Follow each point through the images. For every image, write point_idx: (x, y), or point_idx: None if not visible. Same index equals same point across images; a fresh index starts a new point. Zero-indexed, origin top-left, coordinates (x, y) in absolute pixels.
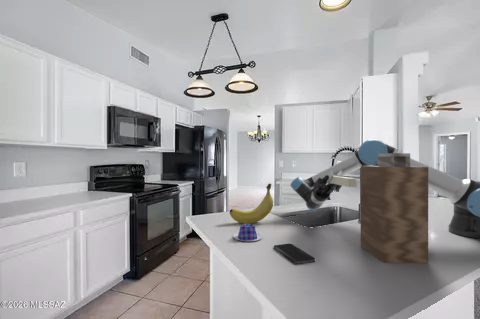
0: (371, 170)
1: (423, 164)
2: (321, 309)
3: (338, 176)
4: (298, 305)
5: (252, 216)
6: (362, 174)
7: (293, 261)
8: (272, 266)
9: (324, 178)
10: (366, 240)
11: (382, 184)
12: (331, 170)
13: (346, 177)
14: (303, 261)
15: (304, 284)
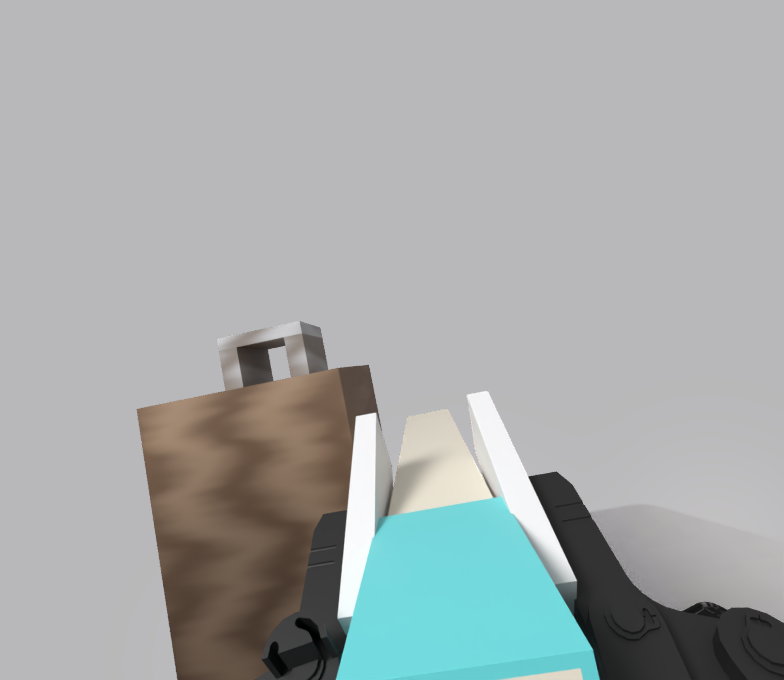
0: (360, 382)
1: None
2: (597, 515)
3: (415, 477)
4: (631, 514)
5: None
6: (350, 413)
7: (718, 605)
8: (772, 588)
9: (602, 554)
10: None
11: (378, 420)
12: (479, 394)
13: (417, 432)
14: (685, 610)
15: (641, 548)
